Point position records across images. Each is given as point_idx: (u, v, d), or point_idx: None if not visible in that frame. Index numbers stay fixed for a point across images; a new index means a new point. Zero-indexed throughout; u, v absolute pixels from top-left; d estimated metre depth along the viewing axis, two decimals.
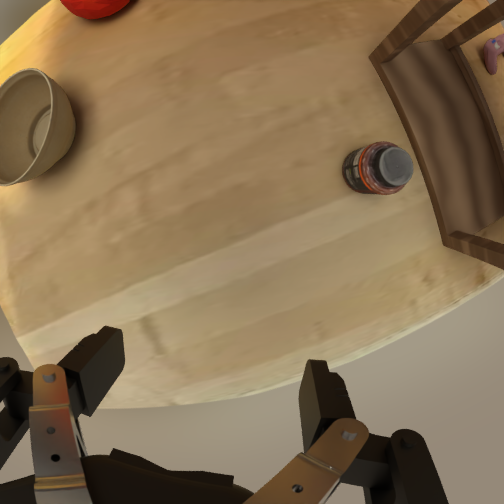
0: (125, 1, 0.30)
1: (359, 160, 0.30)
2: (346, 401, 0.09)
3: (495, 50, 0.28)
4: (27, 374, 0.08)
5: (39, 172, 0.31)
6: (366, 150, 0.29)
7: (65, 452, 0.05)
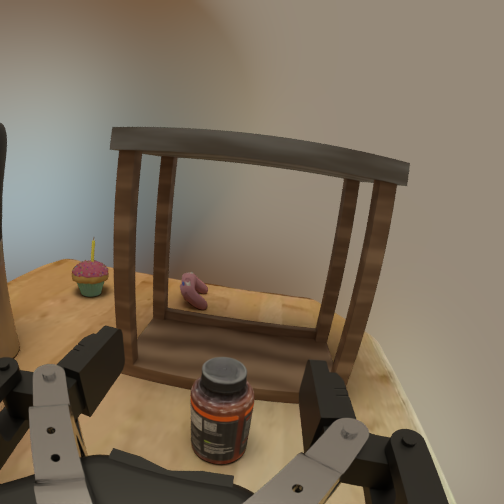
0: None
1: (198, 414, 0.24)
2: (346, 401, 0.09)
3: (190, 287, 0.59)
4: (27, 374, 0.08)
5: None
6: (192, 398, 0.24)
7: (65, 452, 0.05)
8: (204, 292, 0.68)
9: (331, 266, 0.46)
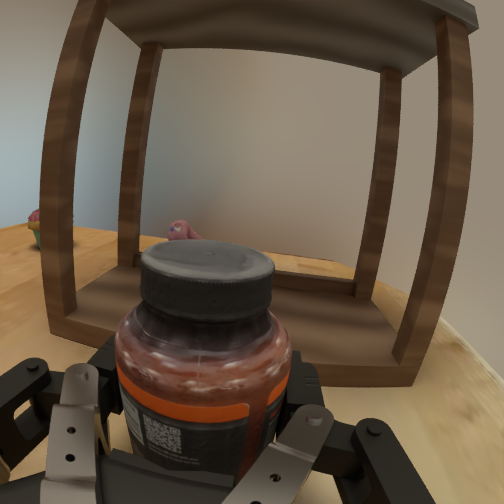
0: None
1: (127, 395, 0.08)
2: (317, 390, 0.10)
3: (181, 233, 0.43)
4: (56, 375, 0.08)
5: None
6: (115, 346, 0.08)
7: (81, 454, 0.05)
8: None
9: (375, 181, 0.30)
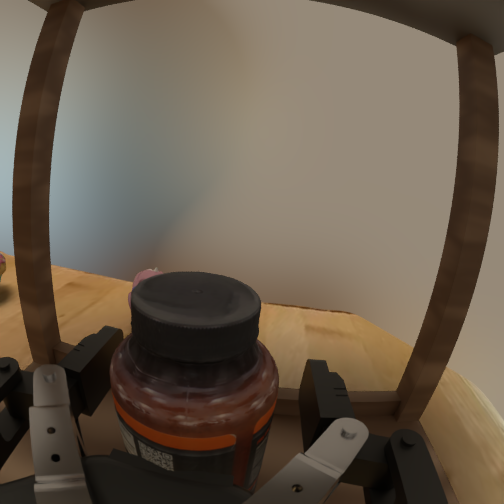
0: None
1: (123, 421, 0.08)
2: (346, 401, 0.09)
3: None
4: (27, 374, 0.08)
5: None
6: (110, 377, 0.08)
7: (65, 452, 0.05)
8: None
9: (457, 241, 0.15)
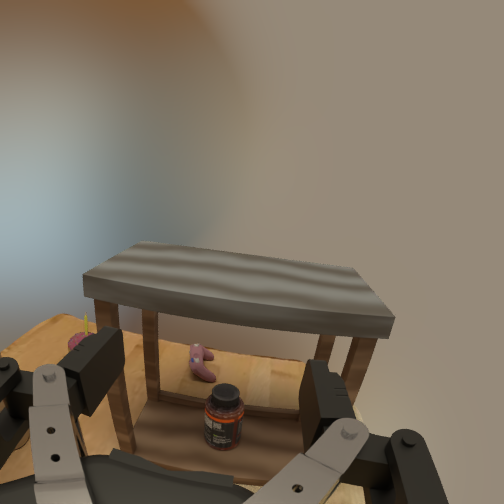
0: None
1: (209, 418, 0.39)
2: (346, 401, 0.09)
3: (199, 364, 0.59)
4: (27, 374, 0.08)
5: None
6: (206, 408, 0.39)
7: (65, 452, 0.05)
8: (210, 359, 0.68)
9: None
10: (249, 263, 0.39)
